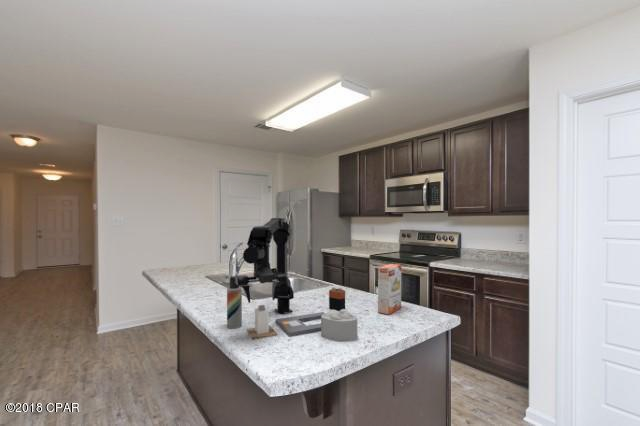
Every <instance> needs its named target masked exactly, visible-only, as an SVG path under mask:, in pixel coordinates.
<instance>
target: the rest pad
mask: <svg viewBox="0 0 640 426" xmlns="http://www.w3.org/2000/svg"><path fill="white" fill-rule="evenodd" d="M246 332H247V333H248V334H249V336H250V337H251V339H252V340H257V339H264V338H270V337H274V336H278V333H277V331H275V330H274V328H273V327H272V326H271V325H270V324H269V333H263V334H258V333H257V332H256V331H255V327H250V328H246Z"/></svg>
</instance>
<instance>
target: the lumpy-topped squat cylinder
mask: <svg viewBox="0 0 640 426" xmlns="http://www.w3.org/2000/svg"><path fill="white" fill-rule="evenodd" d="M324 313H325V314H324V315H322V316H321V319H320V323H321V331H320V336H321V337H322V338H323V339H326V340H331V341H333V342H351V341H352V342H353V341H356V340H357V339H358V336H359V335H358V316H356V315H355V314H353V313H351V312H350V311H348V310H347V309H346V308H345V309H342V310H340V311H337V310H332V309H329V311H327V312H324Z"/></svg>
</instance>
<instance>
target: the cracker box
mask: <svg viewBox="0 0 640 426" xmlns="http://www.w3.org/2000/svg"><path fill="white" fill-rule="evenodd" d="M377 277H378V278H377V313H379V314H383V315H387V316H390V315H391V314H393V313H395V312H396V311H398V310H401V309H402V264H395V263H390V264H386V265H381V266H378V267H377Z"/></svg>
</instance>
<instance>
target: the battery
mask: <svg viewBox="0 0 640 426" xmlns="http://www.w3.org/2000/svg"><path fill="white" fill-rule="evenodd" d="M328 309H329V310H337V311H340V310H342V309H345V310H346V290H345V289H343V288H341V287H338V288H336V287H331V289H329V290H328Z"/></svg>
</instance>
